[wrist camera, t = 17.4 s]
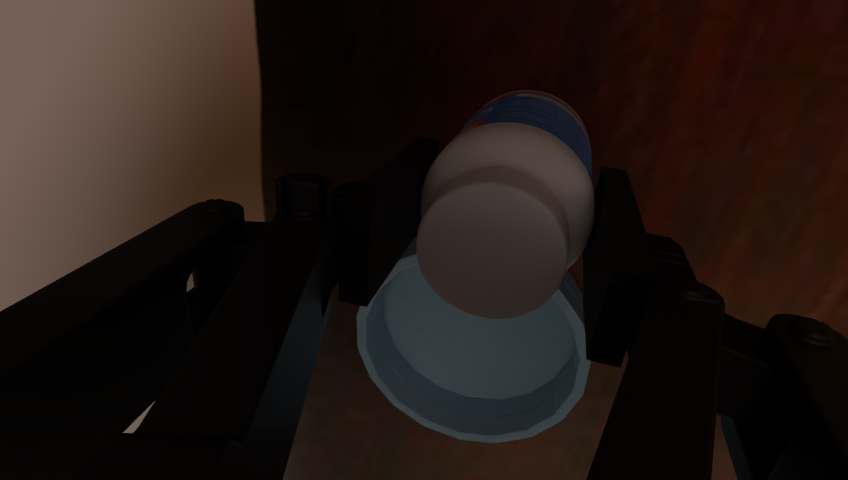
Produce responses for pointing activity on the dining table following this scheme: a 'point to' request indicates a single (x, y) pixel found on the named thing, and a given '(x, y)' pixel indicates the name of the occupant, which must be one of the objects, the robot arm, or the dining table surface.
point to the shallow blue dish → (473, 358)
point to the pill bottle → (507, 206)
